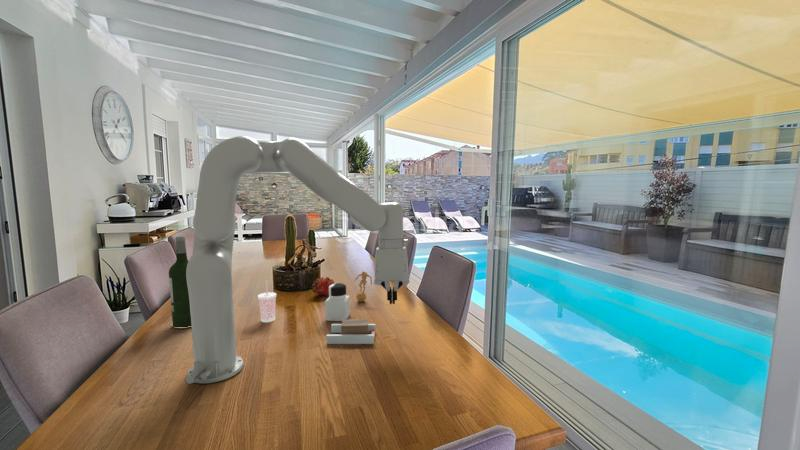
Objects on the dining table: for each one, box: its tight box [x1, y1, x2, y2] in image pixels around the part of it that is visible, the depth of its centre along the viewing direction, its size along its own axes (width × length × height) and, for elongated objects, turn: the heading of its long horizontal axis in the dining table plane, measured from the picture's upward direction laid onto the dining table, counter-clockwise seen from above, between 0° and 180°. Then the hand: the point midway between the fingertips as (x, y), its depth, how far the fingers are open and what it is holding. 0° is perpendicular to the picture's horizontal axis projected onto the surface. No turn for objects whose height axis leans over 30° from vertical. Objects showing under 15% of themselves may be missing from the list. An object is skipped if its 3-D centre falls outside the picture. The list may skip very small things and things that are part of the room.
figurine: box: [353, 271, 373, 303], centre depth 144 cm, size 8×6×12 cm
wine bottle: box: [168, 235, 192, 328], centre depth 119 cm, size 8×8×30 cm
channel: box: [325, 323, 376, 345], centre depth 111 cm, size 9×14×2 cm, turn 90°
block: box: [340, 318, 369, 334], centre depth 110 cm, size 5×8×5 cm, turn 95°
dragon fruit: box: [311, 276, 335, 297], centre depth 152 cm, size 8×8×12 cm
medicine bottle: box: [324, 282, 351, 322], centre depth 126 cm, size 7×7×12 cm
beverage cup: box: [257, 280, 277, 323], centre depth 124 cm, size 6×6×14 cm
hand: (392, 302), depth 110 cm, fingers closed
